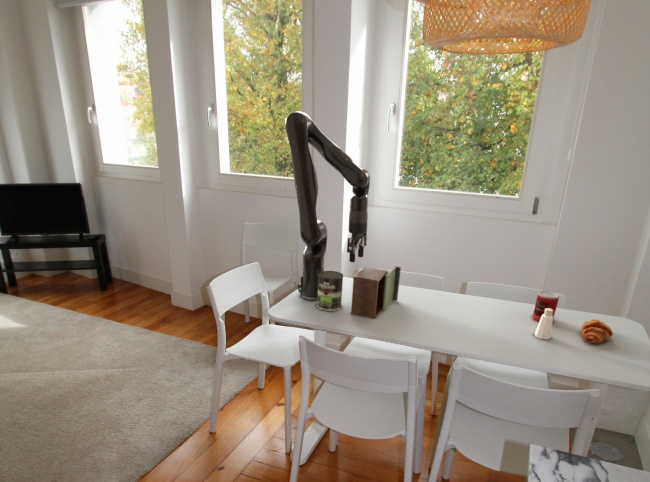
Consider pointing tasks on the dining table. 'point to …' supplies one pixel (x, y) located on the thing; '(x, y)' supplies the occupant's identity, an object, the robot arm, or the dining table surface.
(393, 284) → the sliding door
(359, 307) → the closet
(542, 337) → the pepper shaker
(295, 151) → the robot arm
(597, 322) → the croissant
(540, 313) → the canned food
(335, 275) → the coffee can
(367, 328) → the dining table surface
